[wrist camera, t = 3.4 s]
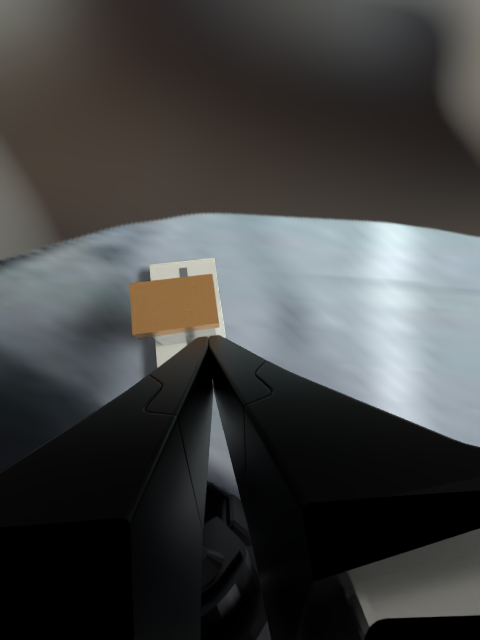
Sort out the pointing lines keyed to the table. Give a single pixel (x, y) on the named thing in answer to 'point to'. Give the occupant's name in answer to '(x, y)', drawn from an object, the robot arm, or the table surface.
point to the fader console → (184, 271)
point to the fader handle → (174, 309)
